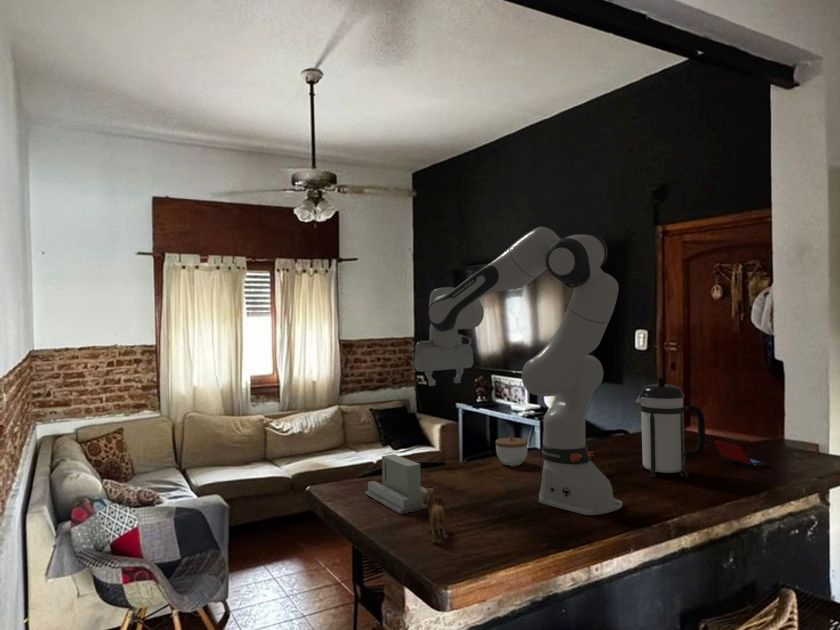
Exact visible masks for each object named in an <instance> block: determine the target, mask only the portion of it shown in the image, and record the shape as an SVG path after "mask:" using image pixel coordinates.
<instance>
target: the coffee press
mask: <svg viewBox="0 0 840 630" xmlns="http://www.w3.org/2000/svg"><path fill="white" fill-rule="evenodd" d="M657 382H658V383H655V384H654V383H651V384H647V385H645V386H643V387H642V388H641V391H640V392H639V395H638V396H637V398H636V400H635V403H637V404H640V405H639V406H640V407H639V408H640V411H641V446H642V448H641V450H642V451H641V453H642V457H641V458H642V463H640V465H639V469H640V470H642V468H644V470H645V469H647V470H649V478H652V477H654V476H655V478H656V477H657V474H659V473H664V474H665V473H666V474H674V473H677V474H678V475H680V476H681V477H682V478H683V477H684V476H685V478H688V477H689V473H688V472H687V470H686V468H685V460H686V458H687V459H688V458H696V457H698V456H700V455H702V453H703V452H704V450H705V446H706V426H705V415H704V414H703V412H702V410H701V409H700V408H698V407H696V406H694V405H690V404H687V405H684V397H685V393H683V390H682V388H680V386H677V385H673V384H667V383H666V384H665V382H666V378H665V377H664V376H659V377H658V378H657ZM685 411H687V412H692V413H694V414H695V416H696V418H697V434H698V435H697V437H698V438H697V441H698V442H697V447H696V448H695V450H692V451H685V437H684V436H685V429H684V427H685V425H684V413H685ZM682 471H683V473H682ZM684 474H685V475H684ZM685 478H684V479H685Z"/></svg>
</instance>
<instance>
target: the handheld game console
mask: <svg viewBox="0 0 840 630" xmlns="http://www.w3.org/2000/svg"><path fill="white" fill-rule="evenodd" d="M714 444H715V446H716V448H717V449H718V451H719V453H720V454H721V456H722V460H723V459H724V460H727V461H730V462H729V463H731V462H734V463H738V464H740V465H739V466H741V465H742V466H741V467H744V466H745V467H744V468H747V467H748V468H747V469H750V468H751V470H754V469H753V468H756V469H762V468H763V467H765V468H769V467H770V464H769V463H767V462H764V461H762V460H757V459H755V458H750V456H749V455H748V453H747V452H746V450H745V448H744V447H743V446H742V445H741V446H740V445H736V444H733V443H729V442H725V441H722V440H717V439H715V440H714ZM724 460H723V461H724ZM727 461H726V462H727ZM734 463H733V464H734ZM738 464H737V465H738ZM763 469H764V468H763Z"/></svg>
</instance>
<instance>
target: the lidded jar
mask: <svg viewBox="0 0 840 630" xmlns="http://www.w3.org/2000/svg"><path fill="white" fill-rule="evenodd" d="M528 445H529V443H528V440H527V439H525V438H520V437H514V436H513V435H509V437H501V438H498V439H496V440H495V450H496V456H497V458H498V459H499V461H500V462H501V463H502V464H503V465H504V464H505V465H504V466H506V465H510V466H509V467H517V465H519V466H521V465H522V463H523V462H524V461H525V460H526V458H527V455H528ZM520 464H521V465H520Z"/></svg>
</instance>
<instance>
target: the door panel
mask: <svg viewBox="0 0 840 630" xmlns="http://www.w3.org/2000/svg"><path fill="white" fill-rule="evenodd" d="M381 470H382V471H381V473H382V474H381V476H382V485H383V486H385V487H387V488H390V489H392V490H394V491H396V492H398V493H400V494H402V495H404V496H406V497H408V498H410V504H413V503H418V502H421V499H420V498H421V487H422V486H421V485H422V484H421V481H422V479H421V463H418V462H415V461H413V460H411V459H408V458H405V457H403V456H400V455H397V454H394V453H392V454H387V455H381Z"/></svg>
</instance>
